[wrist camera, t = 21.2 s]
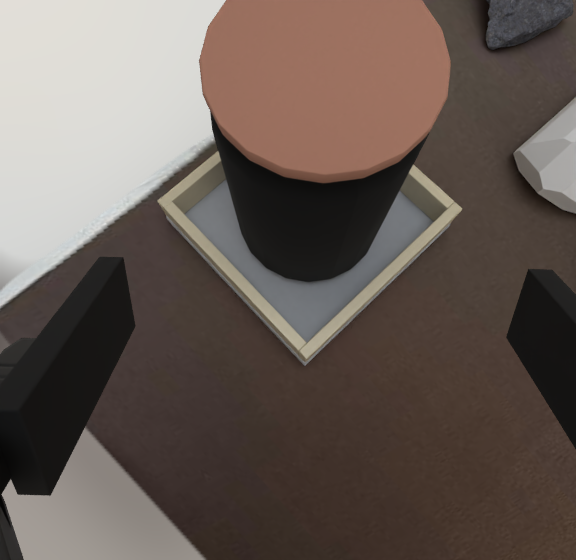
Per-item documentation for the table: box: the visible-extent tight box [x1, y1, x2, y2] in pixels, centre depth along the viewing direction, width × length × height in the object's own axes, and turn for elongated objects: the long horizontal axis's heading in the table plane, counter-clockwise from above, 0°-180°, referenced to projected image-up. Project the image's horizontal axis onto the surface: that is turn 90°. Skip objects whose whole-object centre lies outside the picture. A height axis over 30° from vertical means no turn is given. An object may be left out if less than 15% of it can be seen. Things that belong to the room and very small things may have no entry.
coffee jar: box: [199, 0, 451, 282], centre depth 28 cm, size 11×11×18 cm
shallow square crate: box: [158, 152, 462, 366], centre depth 36 cm, size 16×16×4 cm
